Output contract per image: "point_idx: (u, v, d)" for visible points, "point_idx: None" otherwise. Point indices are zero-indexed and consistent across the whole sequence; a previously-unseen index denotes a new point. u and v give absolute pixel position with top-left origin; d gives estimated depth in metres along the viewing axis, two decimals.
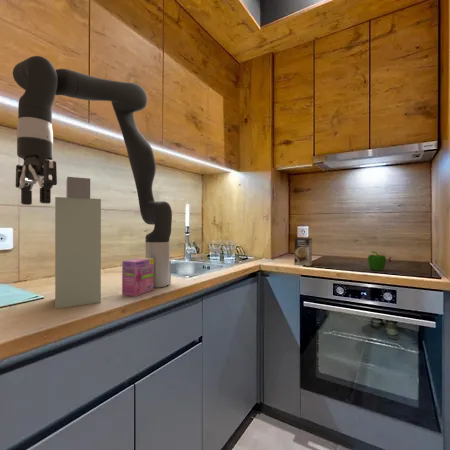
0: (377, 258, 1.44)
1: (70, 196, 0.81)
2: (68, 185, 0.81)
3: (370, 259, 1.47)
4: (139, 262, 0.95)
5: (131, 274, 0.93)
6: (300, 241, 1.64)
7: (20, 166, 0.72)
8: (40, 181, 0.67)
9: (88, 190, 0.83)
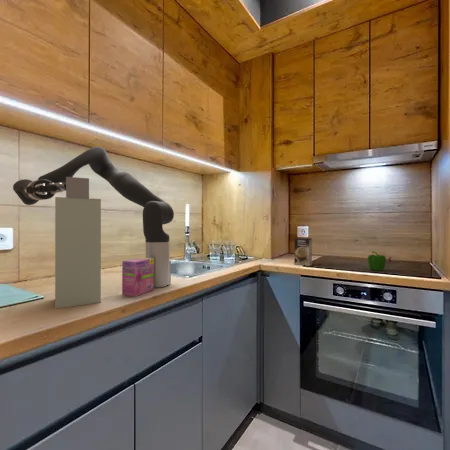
0: (377, 258, 1.44)
1: (69, 196, 0.81)
2: (67, 185, 0.81)
3: (370, 259, 1.47)
4: (139, 262, 0.95)
5: (131, 274, 0.93)
6: (300, 241, 1.64)
7: None
8: (64, 183, 1.02)
9: (87, 190, 0.83)
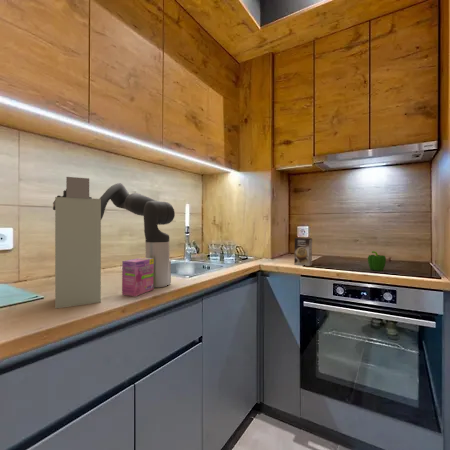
0: (377, 258, 1.44)
1: (69, 196, 0.81)
2: (67, 185, 0.81)
3: (370, 259, 1.47)
4: (139, 262, 0.95)
5: (131, 274, 0.93)
6: (300, 241, 1.64)
7: None
8: None
9: (87, 190, 0.83)
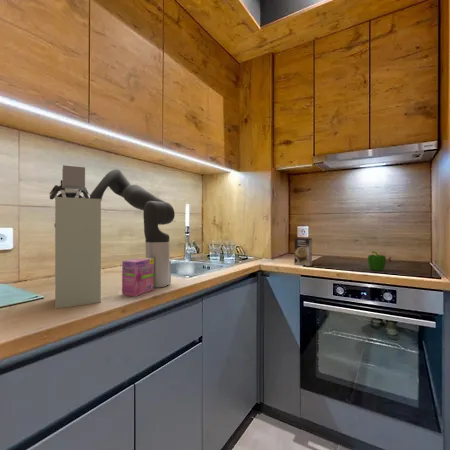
0: (377, 258, 1.44)
1: (65, 184, 0.85)
2: (64, 173, 0.84)
3: (370, 259, 1.47)
4: (139, 262, 0.95)
5: (131, 274, 0.93)
6: (300, 241, 1.64)
7: None
8: None
9: (83, 178, 0.87)
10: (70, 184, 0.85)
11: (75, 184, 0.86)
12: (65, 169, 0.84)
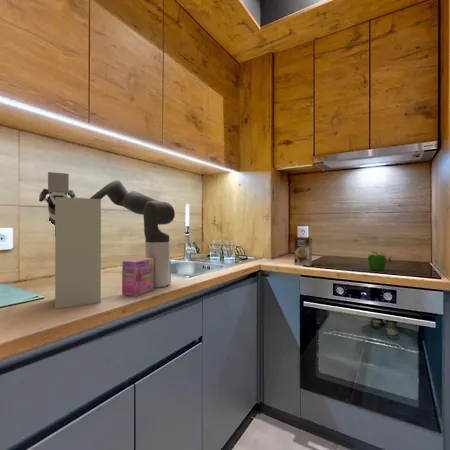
0: (377, 258, 1.44)
1: (50, 189, 0.93)
2: (48, 179, 0.93)
3: (370, 259, 1.47)
4: (139, 262, 0.95)
5: (131, 274, 0.93)
6: (300, 241, 1.64)
7: None
8: None
9: (66, 184, 0.96)
10: (54, 189, 0.94)
11: (59, 189, 0.95)
12: (50, 175, 0.93)
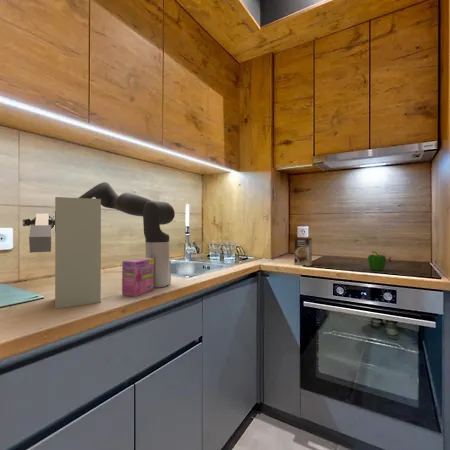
0: (377, 258, 1.44)
1: (32, 251, 0.92)
2: (30, 243, 0.91)
3: (370, 259, 1.47)
4: (139, 262, 0.95)
5: (131, 274, 0.93)
6: (300, 241, 1.64)
7: None
8: (51, 219, 1.10)
9: (49, 245, 0.94)
10: (37, 251, 0.93)
11: (41, 251, 0.94)
12: (31, 240, 0.91)
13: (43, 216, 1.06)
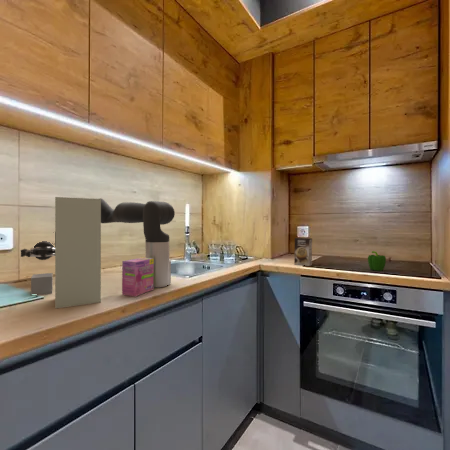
0: (377, 258, 1.44)
1: None
2: (32, 285, 0.94)
3: (370, 259, 1.47)
4: (139, 262, 0.95)
5: (131, 274, 0.93)
6: (300, 241, 1.64)
7: None
8: None
9: (50, 287, 0.96)
10: (38, 294, 0.95)
11: (42, 293, 0.95)
12: (33, 281, 0.94)
13: None
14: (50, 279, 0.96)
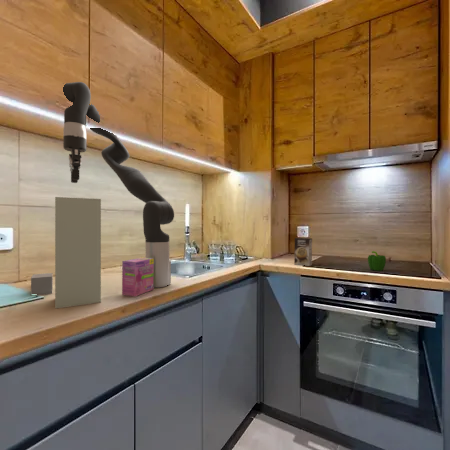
0: (377, 258, 1.44)
1: None
2: (32, 285, 0.94)
3: (370, 259, 1.47)
4: (139, 262, 0.95)
5: (131, 274, 0.93)
6: (300, 241, 1.64)
7: None
8: None
9: (50, 287, 0.96)
10: (38, 294, 0.95)
11: (42, 293, 0.95)
12: (33, 281, 0.94)
13: None
14: (50, 279, 0.96)
